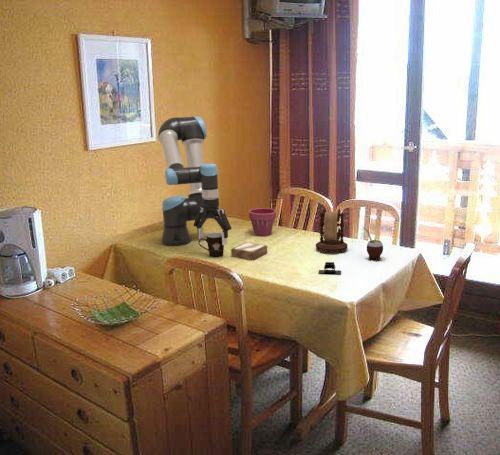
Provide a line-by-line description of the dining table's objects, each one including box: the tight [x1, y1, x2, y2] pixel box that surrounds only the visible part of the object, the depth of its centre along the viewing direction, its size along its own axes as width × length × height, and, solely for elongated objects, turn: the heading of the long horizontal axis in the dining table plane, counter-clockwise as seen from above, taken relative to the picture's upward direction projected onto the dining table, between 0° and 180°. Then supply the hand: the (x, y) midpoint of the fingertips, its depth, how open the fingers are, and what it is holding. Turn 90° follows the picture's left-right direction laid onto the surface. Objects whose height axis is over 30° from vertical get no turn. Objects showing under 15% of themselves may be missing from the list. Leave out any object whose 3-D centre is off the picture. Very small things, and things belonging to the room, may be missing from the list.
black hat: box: [317, 261, 342, 276], centre depth 209 cm, size 12×7×5 cm, turn 78°
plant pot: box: [248, 207, 277, 237], centre depth 269 cm, size 14×14×13 cm
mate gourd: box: [362, 226, 384, 262], centre depth 222 cm, size 8×8×15 cm
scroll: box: [315, 208, 348, 254], centre depth 237 cm, size 15×15×20 cm
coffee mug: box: [198, 232, 225, 258], centre depth 236 cm, size 12×9×10 cm
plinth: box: [230, 242, 268, 262], centre depth 235 cm, size 12×12×4 cm
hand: (213, 243), depth 235 cm, fingers open, 13 cm apart
